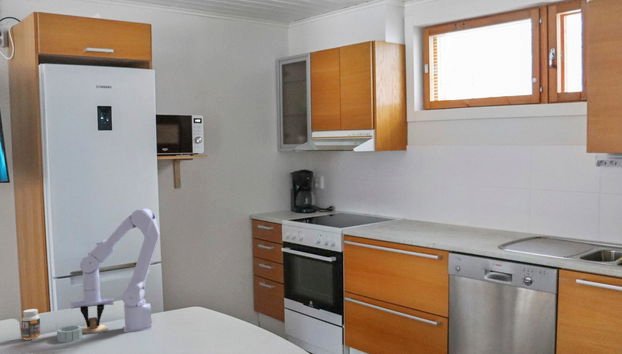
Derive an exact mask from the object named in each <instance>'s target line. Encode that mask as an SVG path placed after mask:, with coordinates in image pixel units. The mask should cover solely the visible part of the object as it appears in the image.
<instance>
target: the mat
mask: <svg viewBox="0 0 622 354" xmlns="http://www.w3.org/2000/svg"><path fill="white" fill-rule="evenodd" d="M108 332H109V327H108V328H107V329H106V330H104V331H102V332H98V333H91V334H90V335H95V334H103V333H108ZM84 335H86V336H87V335H88V334H85V333H82V336H84Z"/></svg>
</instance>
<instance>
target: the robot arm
mask: <svg viewBox="0 0 622 354" xmlns="http://www.w3.org/2000/svg"><path fill="white" fill-rule="evenodd" d="M157 221H158V220H157V216H156V215H155V213H154V212H153V211H152V209H150V208H148V207H142V208H140V209H136V210H135V211H133V212H132V213H131V214H130V215H129V216H128V217H126V218H125V219H124V220H123V221H122V222H121V223H120V225H119V226H118V227H117V228H116V229H115V230H114V232H112V234H111V235H110V236H109V237H108V238H107V239H102V240H101V241H100V240H99V241H97V242H96V246H95V247H93V249H92V250H91V251H88V252H87V255H88V256H85V257H82V260H80V263H79V267H80V270H81V271H82V289H83V291H82V292H83V300H81V301H73V302H70V310H73V309H80V312H81V314H82V316H83V318H84V320H85V322H86V326H87V328H88V327H89V318H90V317H89V308H90V307H91V308H92V307H96V318H97V326H99V325H100V322H101V317H102V315H103V312H104V309H105V306H109V305H110V306H111V305H112V306H114V298H101V282H100V267H101V266H102V264H103V263H104V262H105V261H106V260H107V259H108V257H110V256H111V254H113V252H114V251H115V245H116V244H117V243H118V242H119V241H120V240H121V239H122V238H123V237H124V236H125V235H126V234H127V233H128V232H129V231H130V230H132V229H135V228H137V229H138V230H139V231H140V232H141V233H142V234H143V236H144V238H143V242H142V244H141V245H142V246H141V248H140V251H139V255H138V257H137V260H136V261H137V262H136V264H135V267H134V271H133V274H132V277H131V279H130V282H129V283H128V286H127V288H126V290H125V291H123V293H122V302H123V303H124V304H123V308H124V309H123V310H124V311H123V312H124V326H123V332H124V333H128V332H129V333H130V332H137V331H138V332H139V331H146V330H148V331H149V330H152V329H153V328H152V324H153V320H152V319H153V318H152V306H151V303H148V302H147V303H146V301H145V300H144V297H145V295H146V289H145V288H146V283H147V282H146V280H147V278H148V273H149V271H150V267H151V263H152V260H153V258H154V254H155V251H156V249H157V244H158V241H159V238H160V235H161V234H160V229H159V225H158V222H157Z"/></svg>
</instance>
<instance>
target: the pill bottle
mask: <svg viewBox="0 0 622 354" xmlns="http://www.w3.org/2000/svg"><path fill="white" fill-rule="evenodd" d="M38 313H39V310H38V309H37V308H30V309H26V310H23V311H22V314H23V317H22V318H21V326H22V327H21V331H22V340H24V338H25V339H26V340H25V341H32V340H36V339H39V338H40V337H41V319H40V318H41V317H40V316H39V314H38ZM35 338H36V339H35ZM31 339H32V340H31Z"/></svg>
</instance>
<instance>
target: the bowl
mask: <svg viewBox="0 0 622 354" xmlns="http://www.w3.org/2000/svg"><path fill="white" fill-rule="evenodd" d="M82 328H83V326H81V325H67V326H61V327H59V328H57V330H56V339H57V341H58V342H59V343H70V342H75V341H79V340H82V339H83V335H82Z"/></svg>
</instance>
